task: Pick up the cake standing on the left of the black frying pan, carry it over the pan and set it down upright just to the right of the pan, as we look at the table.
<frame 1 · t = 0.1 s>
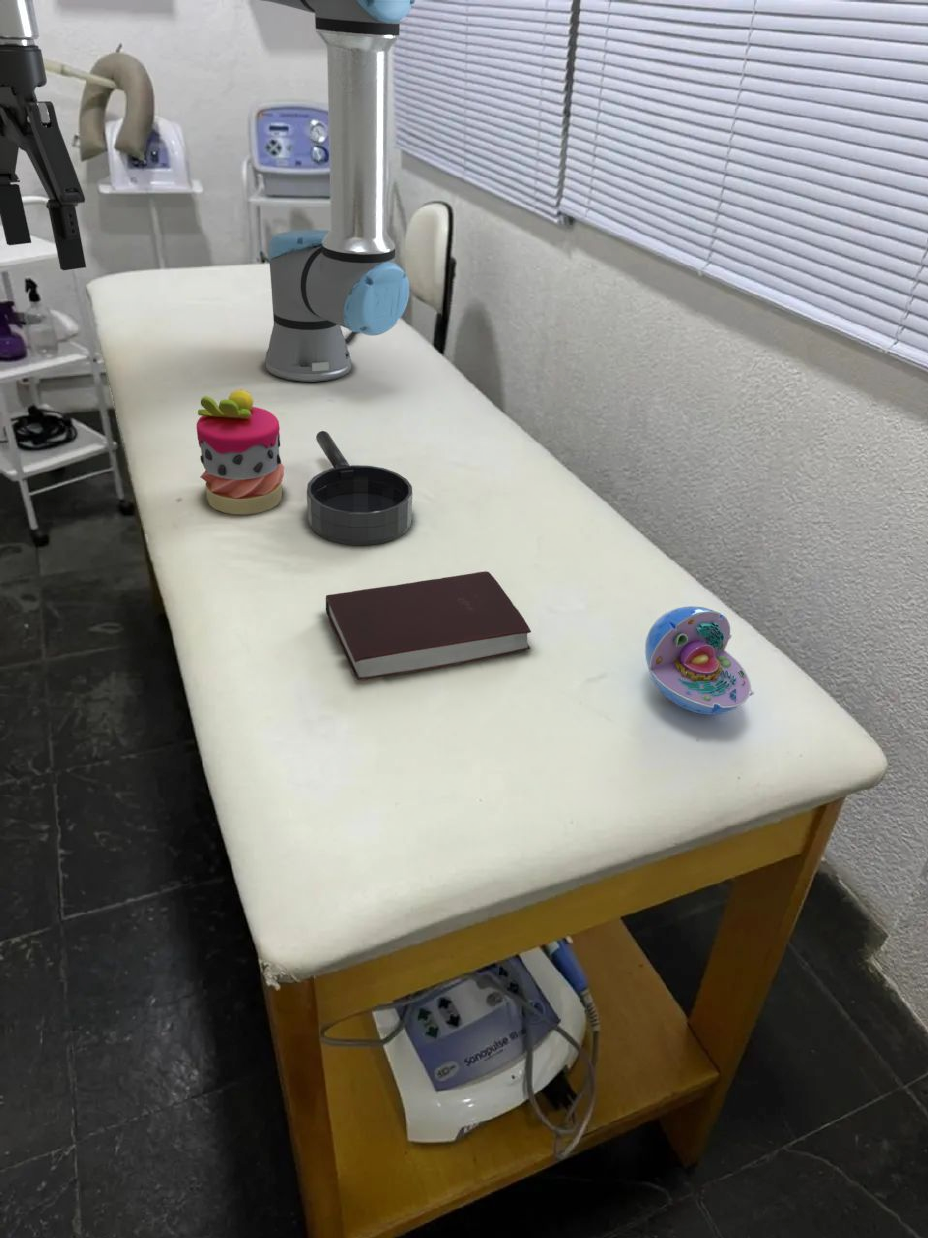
hand: (45, 255, 101), 28 cm above the table, tool pointing down, fingers open, 13 cm apart
book: (426, 634, 93), on the table
cake: (245, 498, 115), on the table
pan handle: (333, 454, 119), point 3 cm above the table
pan: (360, 519, 112), on the table
cell model: (689, 698, 87), on the table
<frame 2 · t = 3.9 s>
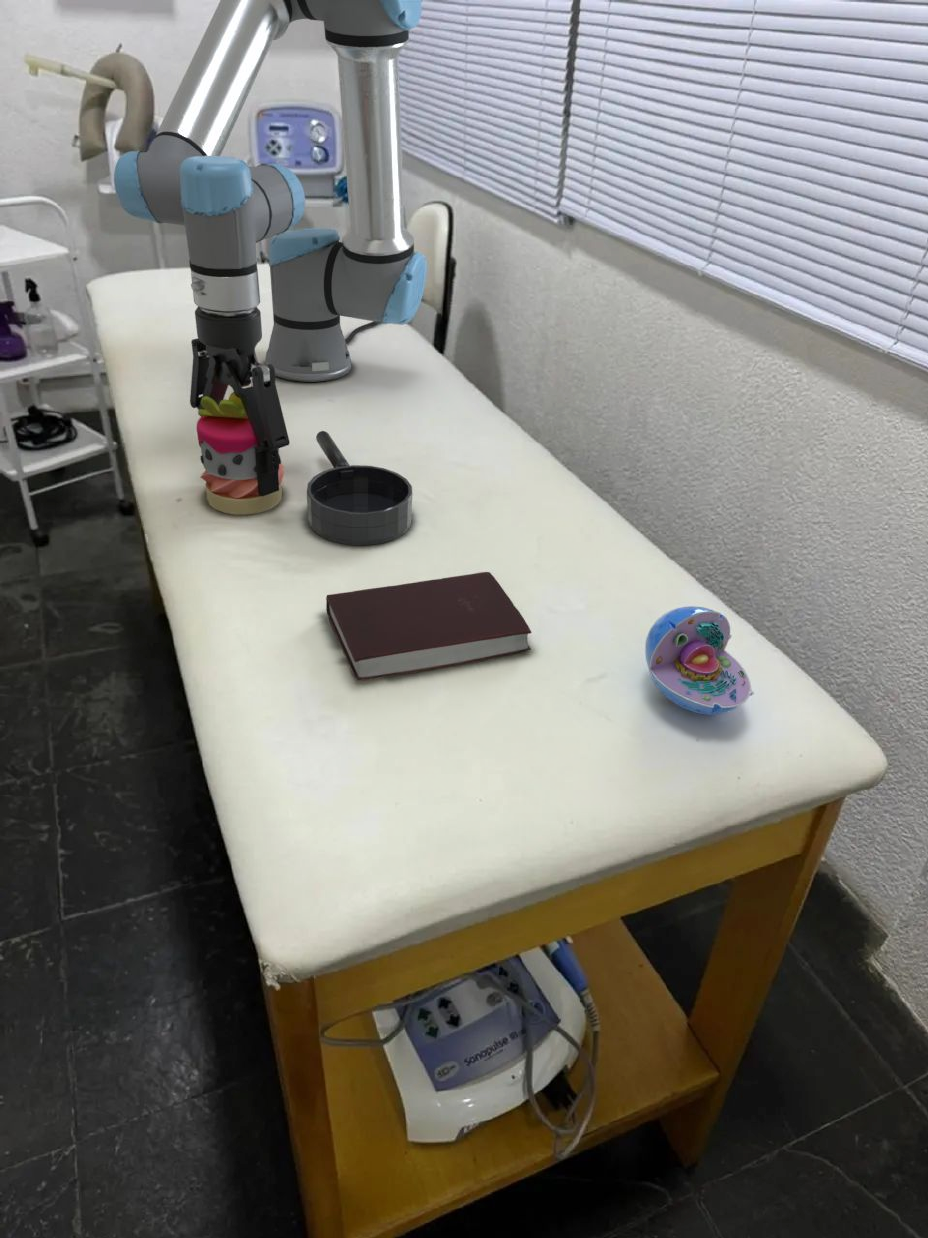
hand: (243, 477, 113), 3 cm above the table, tool pointing down, fingers closed on cake, 10 cm apart
cake: (245, 498, 115), on the table, touching gripper
everything else where it was.
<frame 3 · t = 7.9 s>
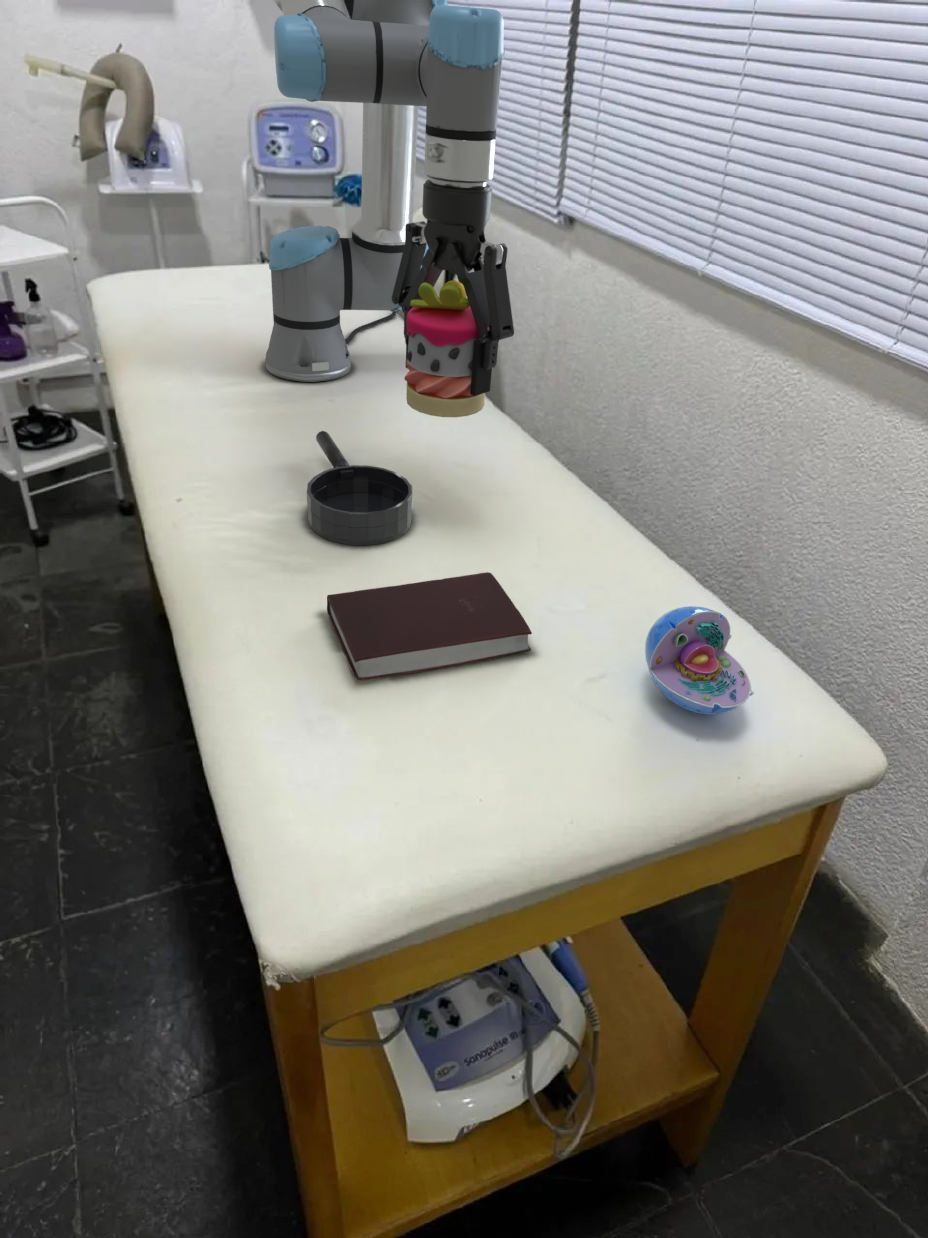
hand: (446, 379, 105), 18 cm above the table, tool pointing down, fingers closed on cake, 10 cm apart
cake: (445, 403, 107), point 15 cm above the table, touching gripper
everything else where it was.
when the fingers open (3 cm above the table, at t = 12.3 s): cake stays where it is, on the table.
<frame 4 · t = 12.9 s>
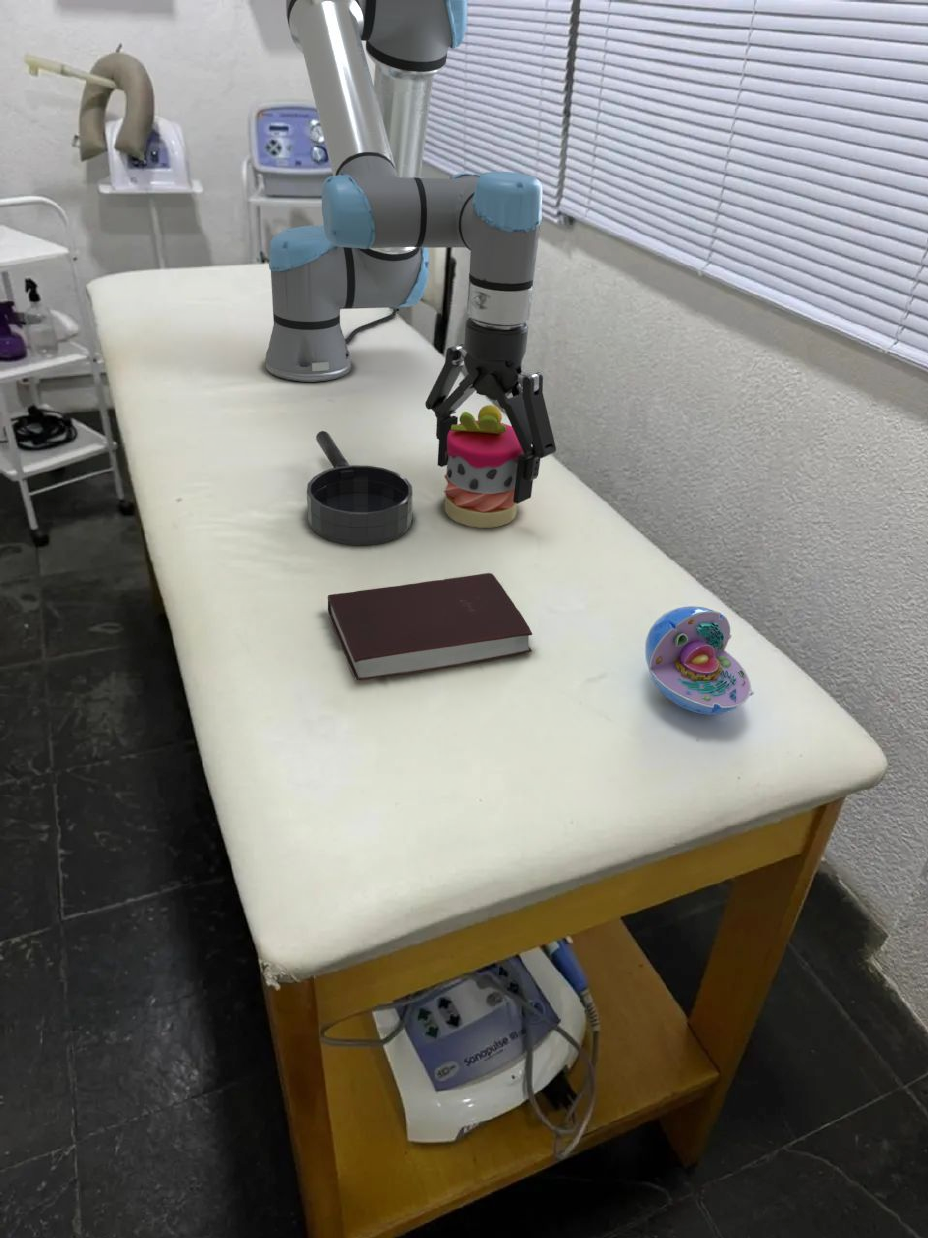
hand: (482, 481, 114), 4 cm above the table, tool pointing down, fingers open, 13 cm apart
cake: (480, 511, 116), on the table
everything else where it was.
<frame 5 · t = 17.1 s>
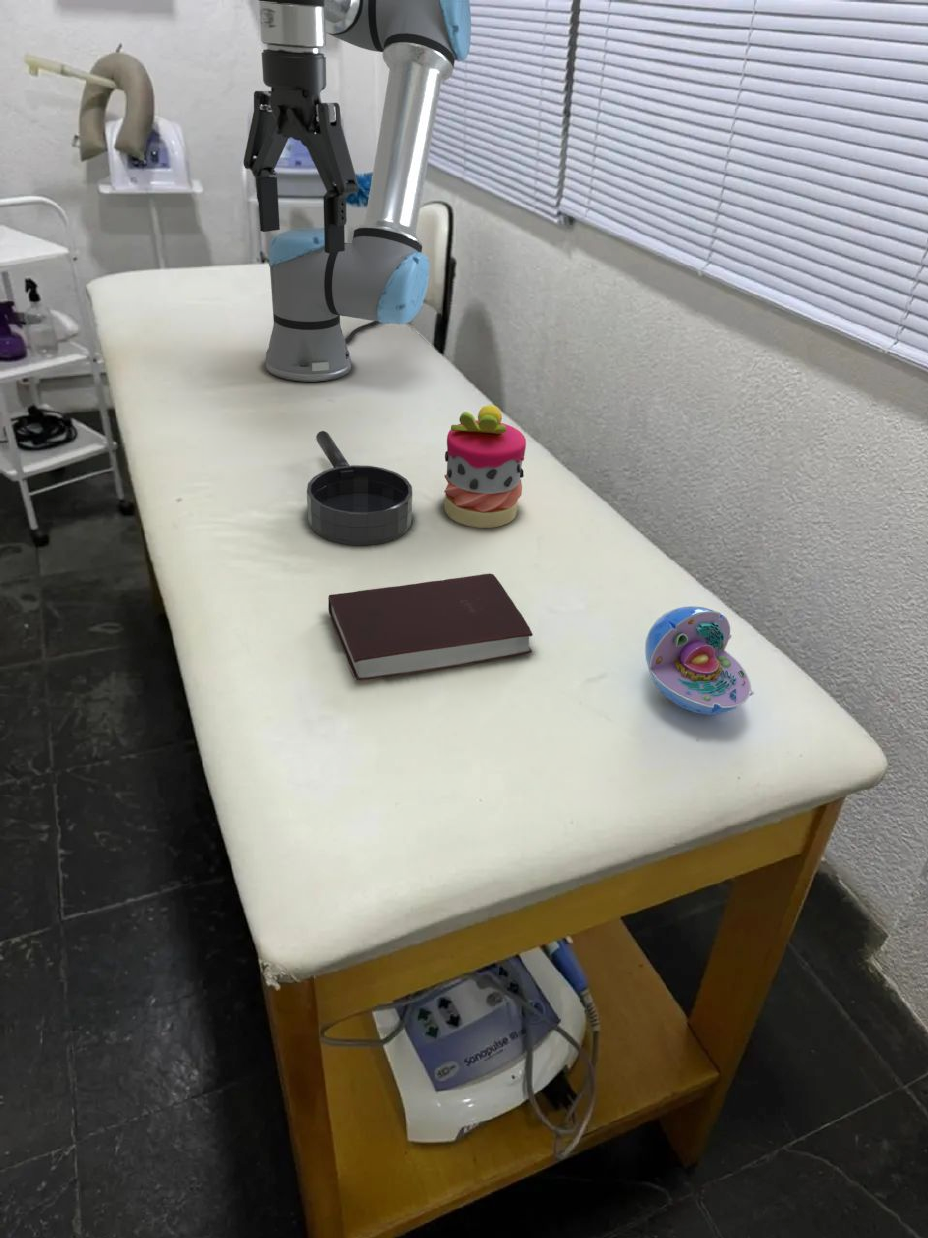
hand: (301, 240, 113), 29 cm above the table, tool pointing down, fingers open, 13 cm apart
nothing on the table moved.
at the end: cake inside the target area (0.1 cm from its centre), on the table; cake tilted 0°; cake 16.6 cm from the pan (horizontally) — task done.
